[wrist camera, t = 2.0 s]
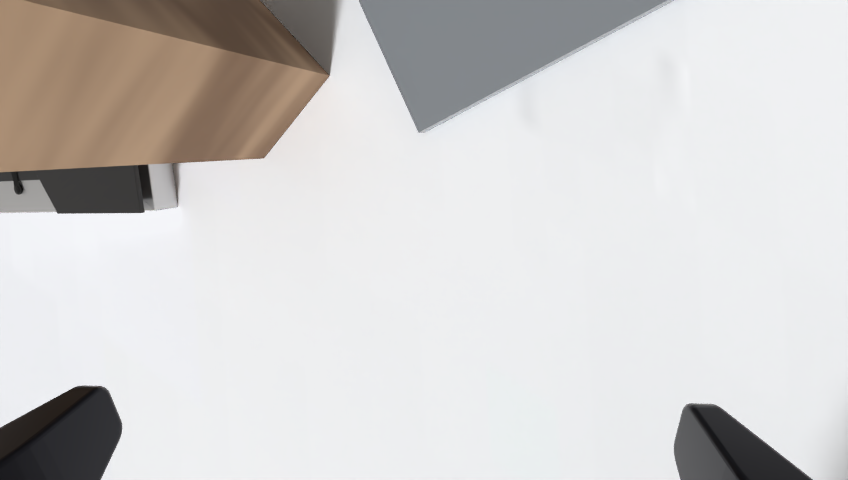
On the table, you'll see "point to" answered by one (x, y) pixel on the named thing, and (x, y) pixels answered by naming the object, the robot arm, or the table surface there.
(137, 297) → the table surface
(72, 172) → the picture frame
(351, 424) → the table surface
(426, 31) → the coaster
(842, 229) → the table surface
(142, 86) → the block
